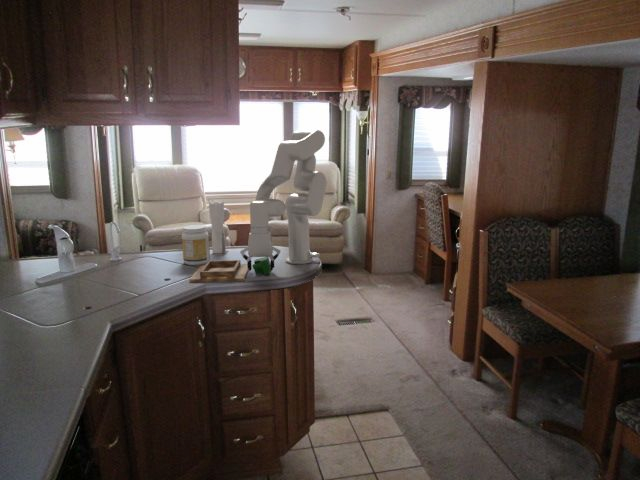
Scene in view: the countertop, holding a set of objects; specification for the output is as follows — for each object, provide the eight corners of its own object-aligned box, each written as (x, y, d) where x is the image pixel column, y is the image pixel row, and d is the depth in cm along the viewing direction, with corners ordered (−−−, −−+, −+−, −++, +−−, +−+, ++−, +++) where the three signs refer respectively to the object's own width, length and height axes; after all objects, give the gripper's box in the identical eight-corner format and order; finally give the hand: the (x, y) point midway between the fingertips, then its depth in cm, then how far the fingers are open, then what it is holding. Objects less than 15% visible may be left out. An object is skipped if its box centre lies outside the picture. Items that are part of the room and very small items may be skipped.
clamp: (260, 280, 216) (255, 260, 218) (273, 276, 216) (268, 256, 218) (254, 277, 204) (249, 256, 206) (268, 273, 204) (263, 252, 206)
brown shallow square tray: (250, 266, 221) (249, 258, 221) (244, 281, 200) (243, 272, 199) (201, 267, 221) (200, 259, 220) (189, 282, 199) (188, 273, 199)
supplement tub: (190, 258, 238) (188, 224, 234) (214, 259, 235) (212, 224, 232) (178, 265, 226) (176, 229, 222) (203, 266, 224) (201, 229, 220)
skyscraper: (208, 254, 246) (205, 199, 240) (213, 251, 254) (209, 197, 248) (225, 254, 245) (222, 198, 239) (229, 251, 253) (226, 196, 247)
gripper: (280, 228, 212) (281, 267, 215) (240, 228, 211) (241, 267, 215) (279, 231, 204) (280, 271, 208) (237, 232, 204) (239, 272, 207)
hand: (261, 269), depth 211 cm, fingers open, 8 cm apart
